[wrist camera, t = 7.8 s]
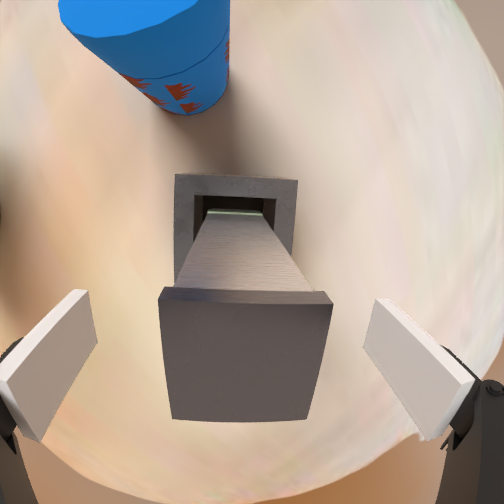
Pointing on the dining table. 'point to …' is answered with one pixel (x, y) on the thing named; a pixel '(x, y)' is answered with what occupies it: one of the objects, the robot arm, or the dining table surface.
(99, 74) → the dining table surface
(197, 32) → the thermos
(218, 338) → the column
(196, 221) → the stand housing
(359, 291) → the dining table surface
